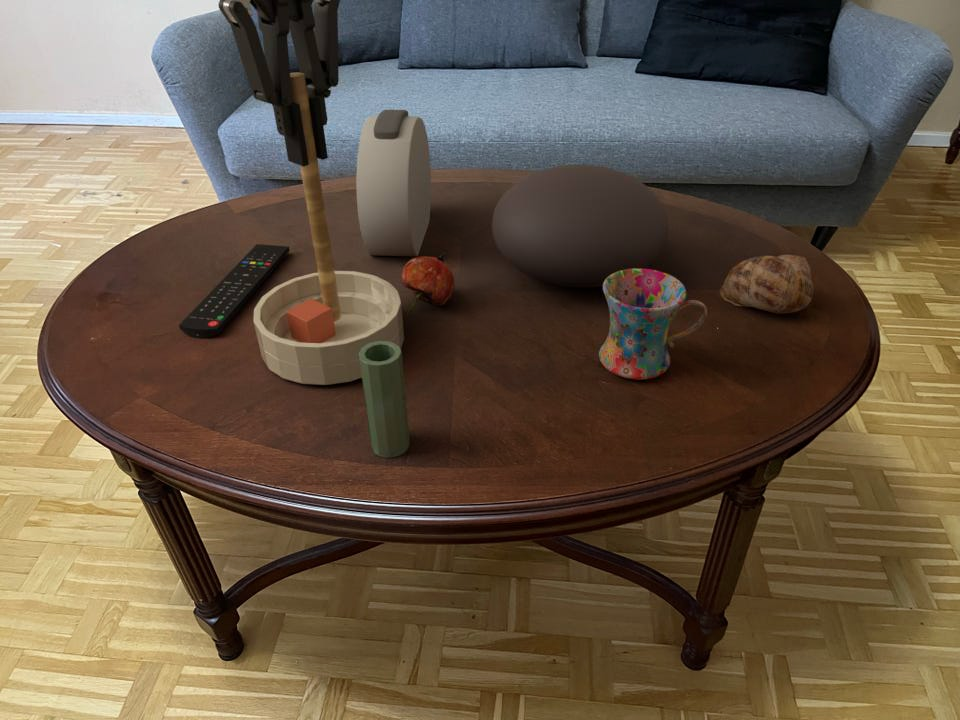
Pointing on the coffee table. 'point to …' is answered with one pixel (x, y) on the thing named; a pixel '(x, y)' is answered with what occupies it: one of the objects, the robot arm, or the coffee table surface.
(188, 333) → the remote control
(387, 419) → the holder
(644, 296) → the mug
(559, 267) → the flattened ellipsoid
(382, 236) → the alarm clock
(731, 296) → the seashell
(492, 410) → the coffee table surface
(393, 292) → the bowl
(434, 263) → the pomegranate
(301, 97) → the stick
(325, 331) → the block
